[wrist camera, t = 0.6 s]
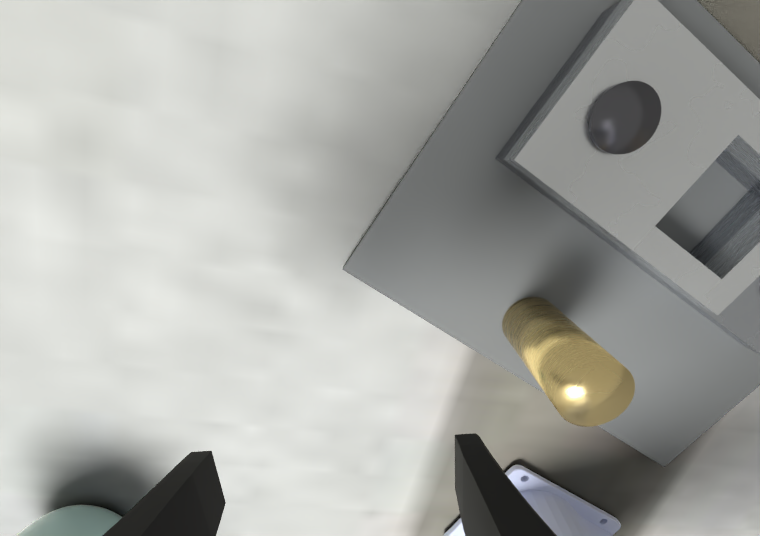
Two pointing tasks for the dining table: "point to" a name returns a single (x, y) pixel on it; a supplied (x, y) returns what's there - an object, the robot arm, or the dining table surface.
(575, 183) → the latch strike plate
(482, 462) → the robot arm
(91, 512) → the cup
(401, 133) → the dining table surface
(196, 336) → the dining table surface
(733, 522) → the dining table surface
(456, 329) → the mat
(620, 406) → the pin
